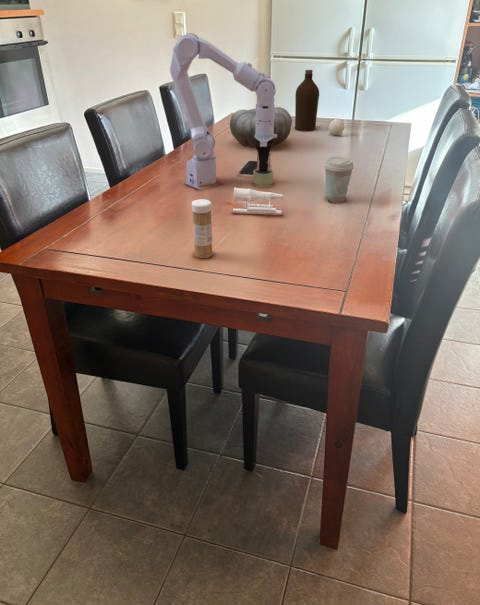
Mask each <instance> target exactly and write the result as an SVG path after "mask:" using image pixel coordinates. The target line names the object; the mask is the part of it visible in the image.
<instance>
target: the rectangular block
mask: <svg viewBox="0 0 480 605" xmlns="http://www.w3.org/2000/svg"><path fill="white" fill-rule="evenodd" d="M256 161H257V173H260V174H267V173H270V169H271V152H270V153H269V157H268V162H267V165H260V162H259V155H258V152H257V153H256Z"/></svg>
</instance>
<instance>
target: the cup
mask: <svg viewBox="0 0 480 605" xmlns="http://www.w3.org/2000/svg"><path fill="white" fill-rule="evenodd" d="M252 177H253V178H252V179H253V180H252V182H253V184H255V185H258V186H269V185H272V184H273V183H274V170H273V169H271V168H270V173H267V174H260V173H257V169H255V170H254V171H253V175H252Z"/></svg>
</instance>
